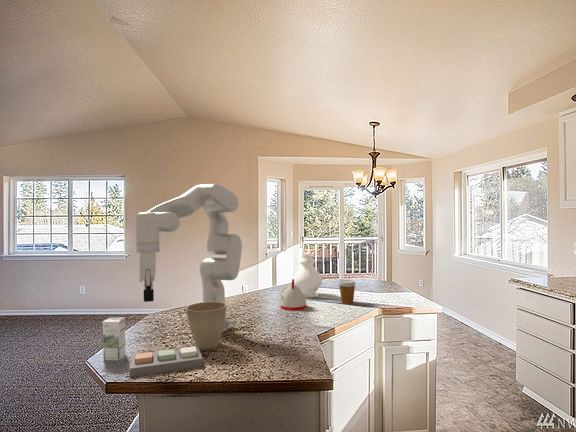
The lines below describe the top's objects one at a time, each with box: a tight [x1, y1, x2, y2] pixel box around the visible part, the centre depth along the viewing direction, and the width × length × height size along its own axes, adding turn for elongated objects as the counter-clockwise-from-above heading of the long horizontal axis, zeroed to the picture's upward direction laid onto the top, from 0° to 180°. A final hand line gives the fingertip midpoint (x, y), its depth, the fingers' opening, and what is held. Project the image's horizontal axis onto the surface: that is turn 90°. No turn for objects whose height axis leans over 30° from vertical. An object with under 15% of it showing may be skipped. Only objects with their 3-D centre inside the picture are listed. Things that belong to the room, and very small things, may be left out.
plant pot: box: [185, 301, 227, 350], centre depth 145 cm, size 15×15×16 cm
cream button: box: [179, 346, 197, 358], centre depth 129 cm, size 5×5×2 cm
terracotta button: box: [135, 351, 153, 364], centre depth 125 cm, size 5×5×2 cm
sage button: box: [158, 348, 175, 361], centre depth 127 cm, size 5×5×2 cm
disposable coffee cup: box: [338, 279, 356, 305], centre depth 215 cm, size 10×10×12 cm
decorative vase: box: [293, 253, 323, 298], centre depth 238 cm, size 18×18×25 cm
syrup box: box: [102, 317, 127, 361], centre depth 135 cm, size 6×6×14 cm
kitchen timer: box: [280, 278, 307, 311], centre depth 208 cm, size 14×14×15 cm
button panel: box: [129, 346, 204, 378], centre depth 127 cm, size 22×12×4 cm, turn 109°
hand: (148, 300), depth 133 cm, fingers closed
